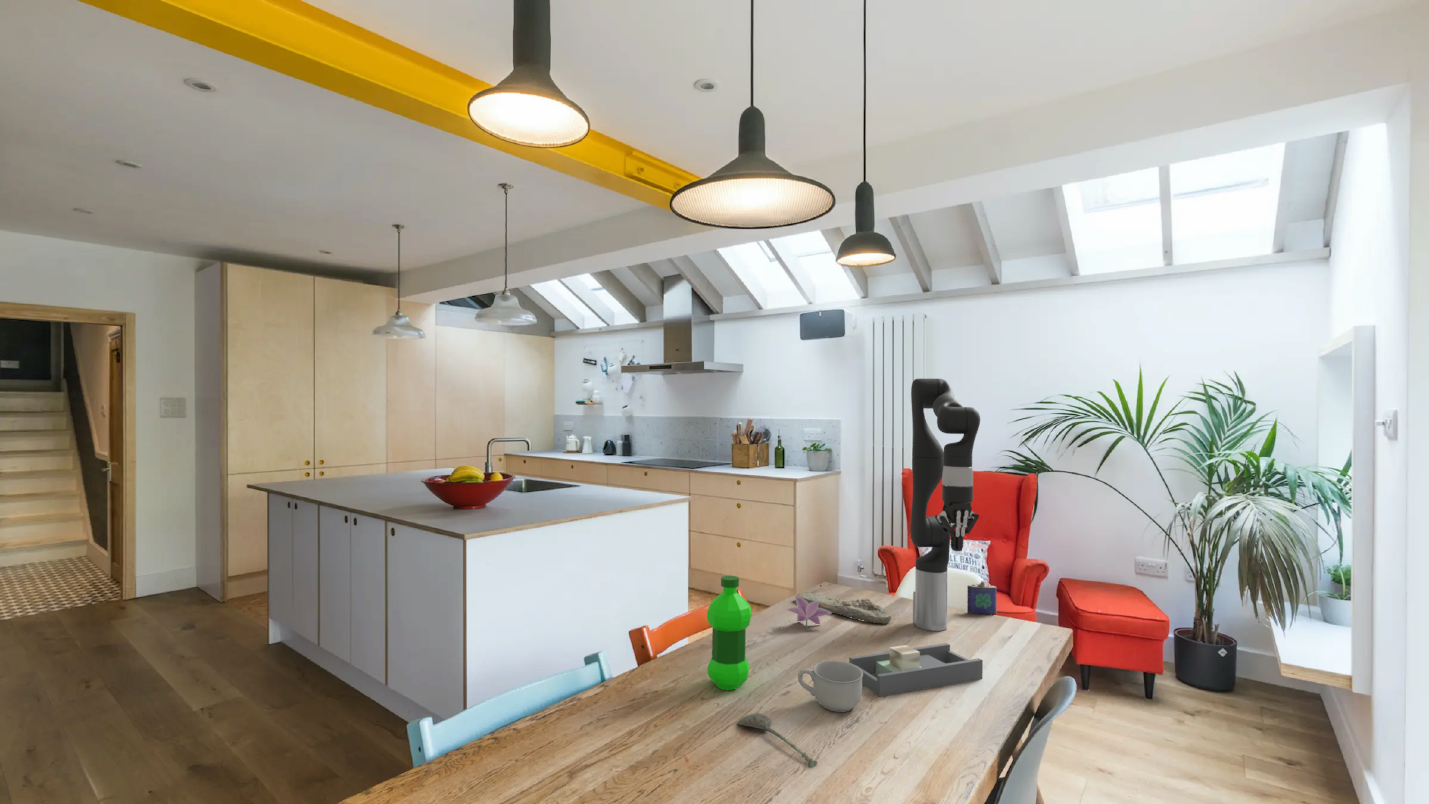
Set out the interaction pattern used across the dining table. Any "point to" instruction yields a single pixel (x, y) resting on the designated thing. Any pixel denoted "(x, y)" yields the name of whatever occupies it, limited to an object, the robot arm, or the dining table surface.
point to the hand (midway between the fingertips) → (956, 550)
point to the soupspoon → (765, 723)
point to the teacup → (834, 684)
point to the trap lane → (917, 670)
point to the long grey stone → (850, 608)
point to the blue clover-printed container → (981, 599)
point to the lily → (808, 610)
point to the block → (904, 657)
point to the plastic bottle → (729, 636)
